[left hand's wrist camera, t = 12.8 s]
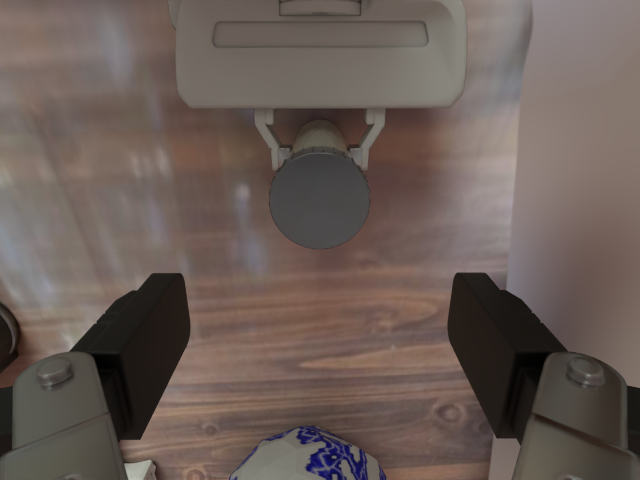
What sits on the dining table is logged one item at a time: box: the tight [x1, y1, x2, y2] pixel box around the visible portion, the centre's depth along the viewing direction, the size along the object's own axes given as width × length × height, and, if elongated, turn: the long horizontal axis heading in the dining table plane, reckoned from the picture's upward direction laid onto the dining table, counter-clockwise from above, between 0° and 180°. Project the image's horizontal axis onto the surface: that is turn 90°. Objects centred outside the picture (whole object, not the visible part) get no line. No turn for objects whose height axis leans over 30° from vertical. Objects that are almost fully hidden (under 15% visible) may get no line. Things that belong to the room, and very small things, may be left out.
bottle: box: [289, 119, 351, 158], centre depth 29 cm, size 4×4×18 cm
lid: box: [269, 145, 370, 249], centre depth 21 cm, size 5×5×2 cm
